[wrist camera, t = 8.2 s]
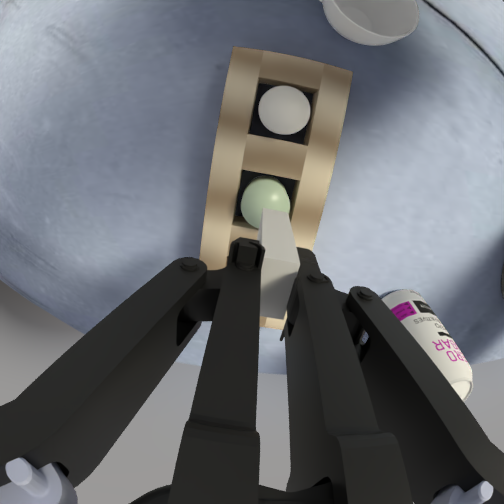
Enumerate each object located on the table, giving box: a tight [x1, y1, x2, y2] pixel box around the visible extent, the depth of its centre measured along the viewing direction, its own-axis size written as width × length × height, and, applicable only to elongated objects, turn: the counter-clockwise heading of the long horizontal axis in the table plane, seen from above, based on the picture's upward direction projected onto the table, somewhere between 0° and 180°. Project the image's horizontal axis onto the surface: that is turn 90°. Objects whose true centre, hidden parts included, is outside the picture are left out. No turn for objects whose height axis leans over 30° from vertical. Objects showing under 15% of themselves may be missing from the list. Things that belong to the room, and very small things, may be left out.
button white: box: [259, 86, 310, 135], centre depth 21 cm, size 4×4×4 cm
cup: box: [319, 0, 419, 46], centre depth 15 cm, size 8×10×7 cm
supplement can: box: [381, 289, 473, 402], centre depth 25 cm, size 8×8×15 cm
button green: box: [241, 175, 290, 228], centre depth 24 cm, size 4×4×4 cm
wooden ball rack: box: [199, 46, 353, 330], centre depth 25 cm, size 26×10×3 cm, turn 170°
